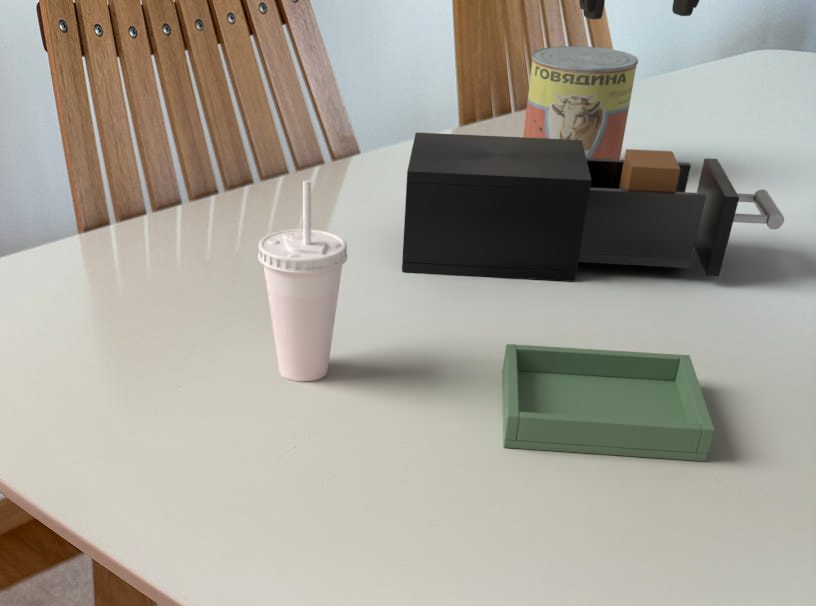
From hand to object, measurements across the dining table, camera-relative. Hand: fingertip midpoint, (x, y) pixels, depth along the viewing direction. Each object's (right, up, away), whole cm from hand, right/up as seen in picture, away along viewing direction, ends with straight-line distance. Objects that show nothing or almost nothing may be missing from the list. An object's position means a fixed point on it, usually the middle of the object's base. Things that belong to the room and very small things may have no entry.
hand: (637, 16), depth 89 cm
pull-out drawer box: (+5, -17, +9) cm, 20 cm away
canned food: (+1, 0, +31) cm, 31 cm away
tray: (-7, -37, -14) cm, 40 cm away
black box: (-11, -16, +11) cm, 22 cm away
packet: (+3, -16, +9) cm, 18 cm away
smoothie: (-28, -33, -9) cm, 44 cm away
